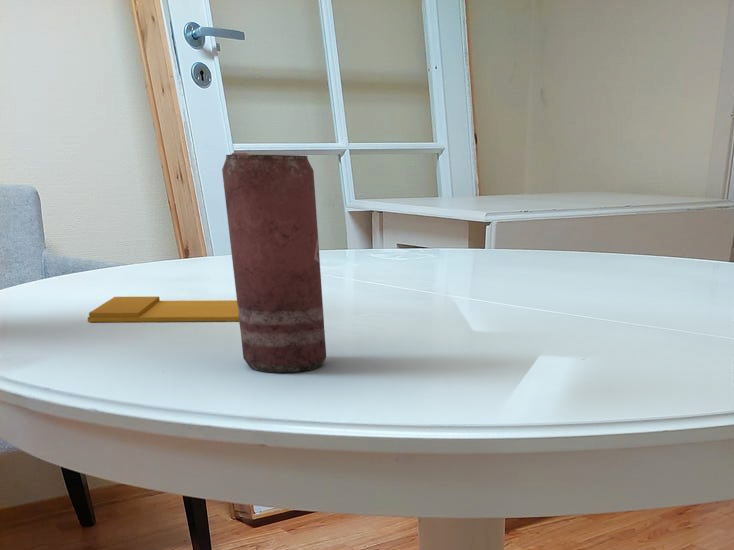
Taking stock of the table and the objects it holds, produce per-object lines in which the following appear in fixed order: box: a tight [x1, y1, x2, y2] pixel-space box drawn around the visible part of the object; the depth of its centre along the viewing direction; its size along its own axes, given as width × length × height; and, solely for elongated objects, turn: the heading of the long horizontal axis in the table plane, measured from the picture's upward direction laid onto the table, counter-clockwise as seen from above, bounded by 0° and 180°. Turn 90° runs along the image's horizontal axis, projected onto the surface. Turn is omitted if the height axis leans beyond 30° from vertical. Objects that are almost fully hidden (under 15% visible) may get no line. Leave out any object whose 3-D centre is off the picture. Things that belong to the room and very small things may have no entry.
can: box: [221, 152, 327, 374], centre depth 63 cm, size 6×6×14 cm
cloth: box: [87, 296, 239, 323], centre depth 87 cm, size 20×10×1 cm, turn 97°
